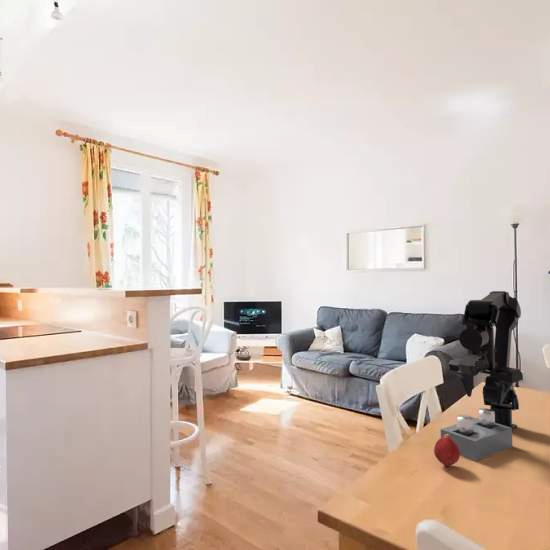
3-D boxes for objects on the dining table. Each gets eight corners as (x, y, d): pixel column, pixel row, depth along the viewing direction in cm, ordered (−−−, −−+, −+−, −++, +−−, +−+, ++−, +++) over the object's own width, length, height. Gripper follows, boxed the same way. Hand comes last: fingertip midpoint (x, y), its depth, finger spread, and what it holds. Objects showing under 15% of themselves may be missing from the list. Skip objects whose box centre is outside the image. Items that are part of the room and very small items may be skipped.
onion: (433, 469, 97) (432, 436, 97) (435, 459, 102) (435, 428, 102) (459, 474, 94) (458, 440, 95) (460, 464, 99) (460, 431, 100)
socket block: (477, 434, 118) (477, 417, 118) (512, 446, 110) (511, 427, 110) (440, 447, 110) (440, 429, 110) (475, 461, 101) (475, 441, 101)
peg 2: (484, 423, 115) (483, 407, 115) (498, 428, 112) (497, 411, 112) (475, 426, 113) (475, 409, 113) (489, 431, 110) (489, 413, 110)
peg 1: (462, 431, 110) (462, 413, 110) (476, 435, 106) (476, 417, 107) (453, 434, 108) (453, 416, 108) (467, 438, 104) (467, 420, 104)
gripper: (435, 343, 117) (436, 397, 117) (498, 353, 101) (500, 415, 100) (459, 339, 122) (461, 390, 122) (523, 348, 106) (524, 407, 106)
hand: (484, 400), depth 113 cm, fingers open, 9 cm apart
